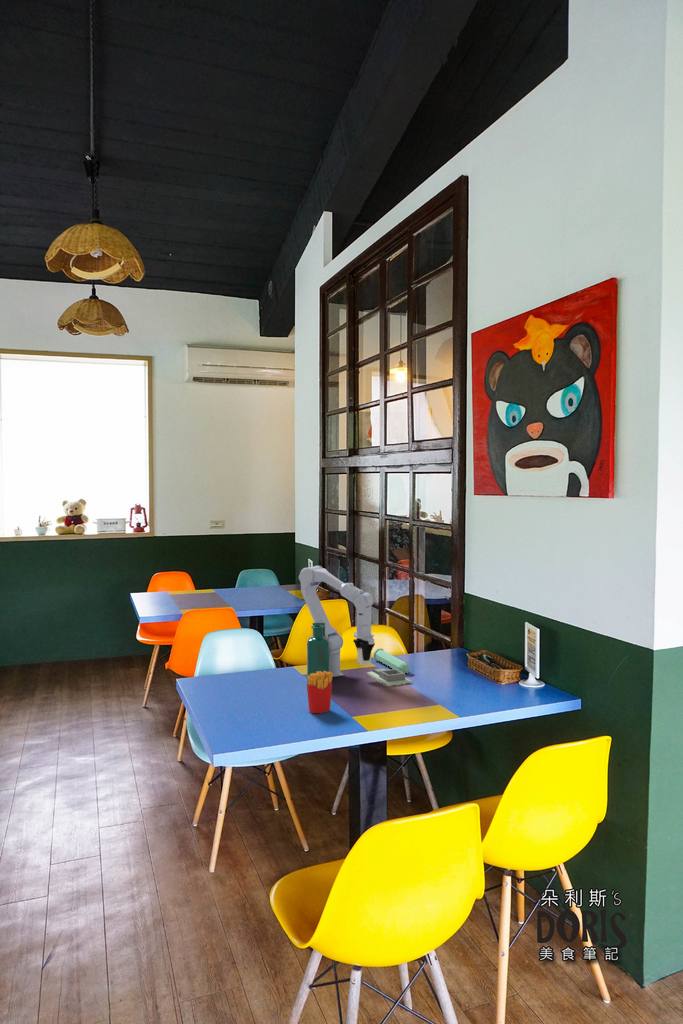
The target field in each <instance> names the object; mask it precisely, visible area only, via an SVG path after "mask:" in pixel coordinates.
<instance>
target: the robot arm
mask: <svg viewBox="0 0 683 1024" xmlns="http://www.w3.org/2000/svg"><path fill="white" fill-rule="evenodd" d="M298 580H299V582H300V592H301V594H302V597H303V599H304V602H305V604H306V606H307V608H308V611H309V613H310V616H311V618H312V619H313V623H325V637H328V638H329V640H330V673H333V677H332V678H336V677H342V676H345V674H344V673H342V672H341V649H342V647H343V645H344V639H343V637H342V635H340V634H339V632H338V630H337V629H335V627H333V626H331V622H330V620H329V618H328V615H327V613H326V611H325V609H324V607H323V604H322V602H321V600H320V598H319V595H318V593H317V590H318V586H319V585H320V584H321V583H322V582H323V583H326V584H327V585H329V586H331V587H332V588H334V589H337V590H338V591H339V593H340V595H341V596H342V597H344V598H345V599H347V600H348V601H350V603H353V605H354V607H355V612H356V631H354V632H353V637H354V639H353V644H354V646H355V648H356V649H357V648H362V652H363V659H364V661H368V660H369V659H370V655H371V656H372V651H373V648H374V647H375V645H376V644H375V643H376V642H375V638H374V637H375V634H373V633H372V606H373V604H374V602H375V599H374V595H373V594H372V593H371V592H369V591H365V592H364V590H363V589H360V588H358V587H356V586H355V585H354V583H352V582H346V583H345V582H344V581H341V580H340V579H339V578H337V577H336V576H335V575H333V574H332V573H330V571H328V570H327V568H323V566H321V565H315V566H310V567H303V568H302V569H301V570H300V572H299V575H298Z"/></svg>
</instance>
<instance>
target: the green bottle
mask: <svg viewBox="0 0 683 1024" xmlns="http://www.w3.org/2000/svg"><path fill="white" fill-rule="evenodd" d="M311 629H312V636H310V637H308V639H307V642H306V675H307V677H306V678H307V679H306V680H307V684H308V676H310V674H312V673H316V671H318V672H319V671H321V672H324V671H327V672H330V640H329V638H328V637H325V623H315V622H312V625H311Z"/></svg>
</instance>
